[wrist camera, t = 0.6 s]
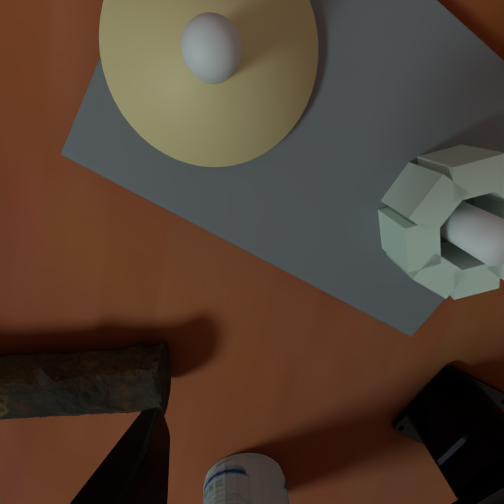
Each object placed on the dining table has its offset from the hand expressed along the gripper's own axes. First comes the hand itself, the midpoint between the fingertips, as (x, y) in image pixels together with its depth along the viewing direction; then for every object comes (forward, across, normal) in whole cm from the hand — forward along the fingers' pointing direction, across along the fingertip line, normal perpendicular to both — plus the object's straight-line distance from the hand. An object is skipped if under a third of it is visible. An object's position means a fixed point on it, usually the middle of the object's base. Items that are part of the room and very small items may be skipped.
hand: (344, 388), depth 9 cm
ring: (+11, -9, 0) cm, 14 cm away
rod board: (+12, -4, -4) cm, 13 cm away
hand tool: (+12, +17, +6) cm, 22 cm away
